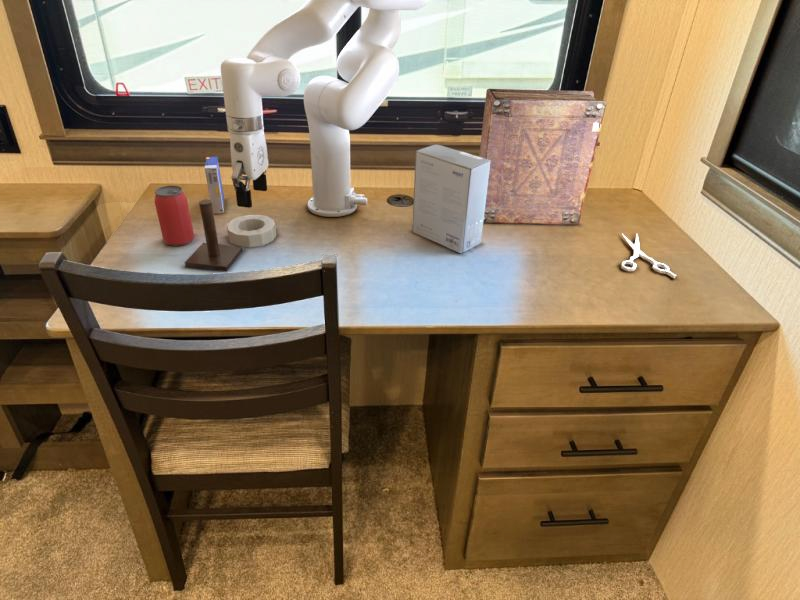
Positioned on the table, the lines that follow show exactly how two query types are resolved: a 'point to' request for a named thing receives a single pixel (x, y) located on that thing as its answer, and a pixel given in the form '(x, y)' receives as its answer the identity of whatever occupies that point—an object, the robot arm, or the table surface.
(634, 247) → the scissors
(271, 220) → the tape roll
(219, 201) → the walkman
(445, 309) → the table surface
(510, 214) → the book
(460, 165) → the hard drive box
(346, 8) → the robot arm
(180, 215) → the beer can
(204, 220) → the spindle
